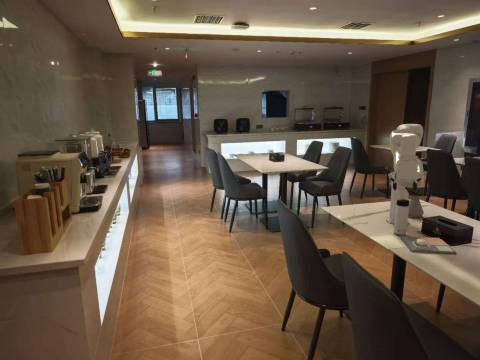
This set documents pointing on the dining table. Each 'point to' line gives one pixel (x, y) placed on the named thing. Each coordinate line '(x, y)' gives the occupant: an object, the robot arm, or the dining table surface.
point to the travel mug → (401, 217)
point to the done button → (421, 242)
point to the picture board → (427, 245)
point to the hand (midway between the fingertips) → (404, 190)
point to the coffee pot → (415, 206)
